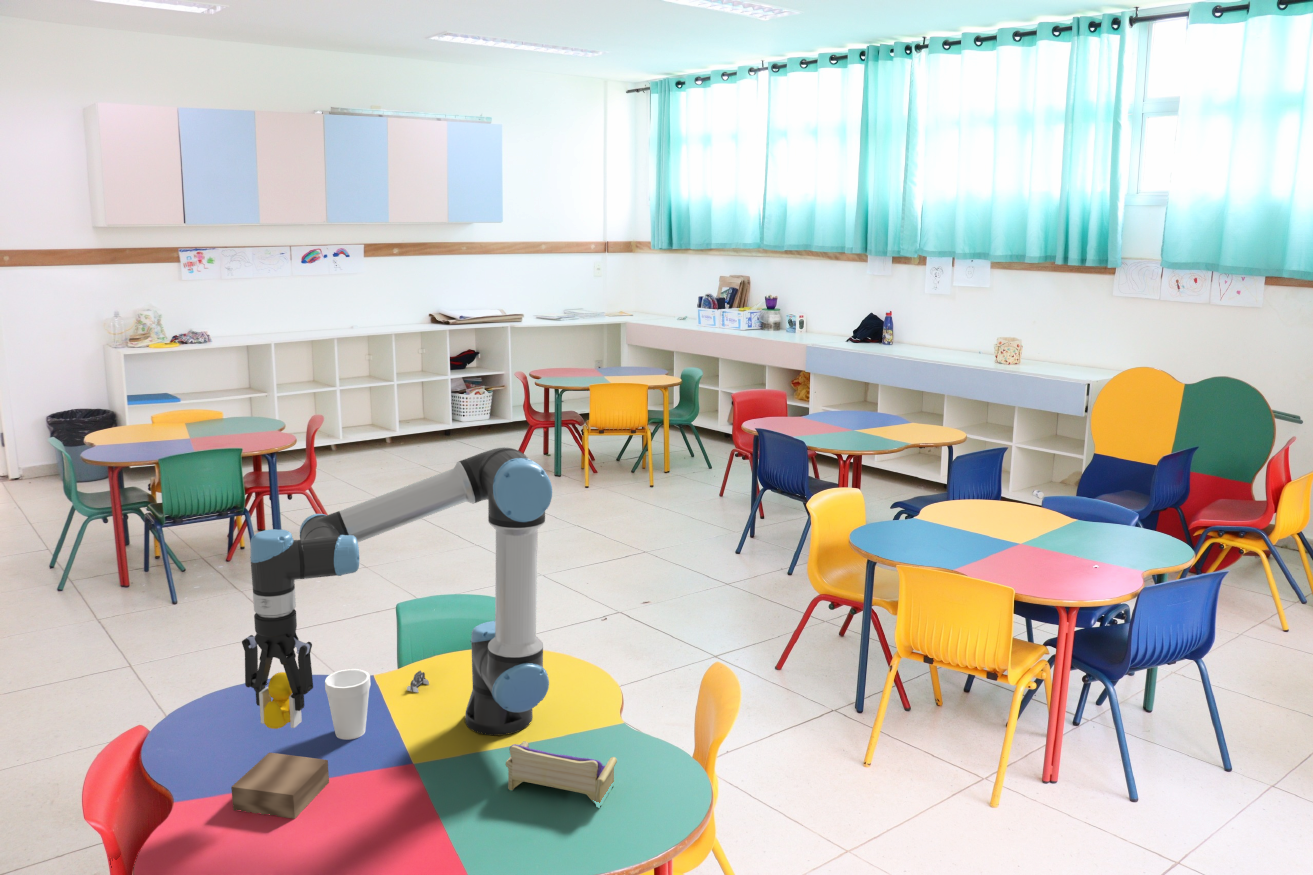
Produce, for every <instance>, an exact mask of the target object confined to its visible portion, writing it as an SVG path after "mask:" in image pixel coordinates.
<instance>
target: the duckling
mask: <svg viewBox="0 0 1313 875" xmlns="http://www.w3.org/2000/svg"><path fill="white" fill-rule="evenodd" d="M267 685H268V686H267V687H268V691H269V694H270V696H271V701H270V702H268V703H267V704H266V706H265V709H264V723H265V724H264V725H265V726H266V727H267V728H269V729H272V730H278V729H281V728H284V727H285V726H286V725H287V724H290V705H289V696H290V695H292V694H293V693H292V690H291V687H290V684H289V681H288V678H287V675H286V672H285V671H281V672H279V671H278V672H276V673H274V674H273V675H272V676H271V677H270V679H269V682H268V684H267Z"/></svg>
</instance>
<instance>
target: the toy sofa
mask: <svg viewBox="0 0 1313 875" xmlns="http://www.w3.org/2000/svg"><path fill="white" fill-rule="evenodd" d="M509 754H510V756H509V758H508V759H507V760H506V761H505V766H506V768H507V769H508V770H507V771H508V773H507V776H508V782H507V786H508V787H507V789H509V790H512V791H513V790H514V789H515V788H516V787H518V786H519V785H520V784H522V783H523V782H525V783H531V784H534V785H538V786H539V785H540V786H546V787H549V788H550V787H551V788H555V789H559V790H565V791H570V792H575V793H580V794H584V795H586V796H587V797H588V798H589V799H590V800H591V801H592V800H594V801H596V802H599V803H600V802H601V800H602V798H603V797H604V795H605V794H606V792H607V791H608V789H609V787H610V786H611V784H612V783H613V782H614V783H615V766H616V765H617V763H618V758H617V757H615V756H612V757H610V758H609V759H608V760H607V763H606V765H603V763H602V762H601V761H600V760H598V759H593V758H588V757H587V758H586V757H577V756H572V755H568V754H566V755H565V754H556V753H551V752H547V751H543V750H538V749H533V748H530V745H529V743H528V741H522V742H521V744H512V745H511V746H509ZM509 790H508V791H509Z"/></svg>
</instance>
